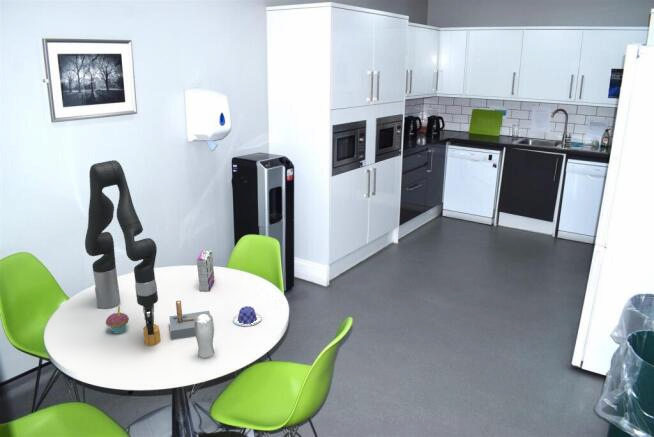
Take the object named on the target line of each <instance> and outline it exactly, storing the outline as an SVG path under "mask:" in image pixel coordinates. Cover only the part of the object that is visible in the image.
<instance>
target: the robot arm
mask: <svg viewBox="0 0 654 437" xmlns="http://www.w3.org/2000/svg"><path fill="white" fill-rule="evenodd" d="M111 186H117V189H118V192H119V193H118V195H119V196H118V203H117V208H116V220H117V222H118V225H119V227H120V229H121V231H122V233H123V234H122V235H123V238H124V239H123V240H124V243H125V245H124V246H125V254H126V256H127V257H128V259H129V260H130V261H132V262H139V261H141V260H142V261H141V262H139V263H138V264H137V265H135V266H134V268H133V273H134V274H133V275H134V282H135V283H134V285H135V286H134V287H135V297H136V303H137V305H139V306H142V312H143V316H144V317H143V318H144V321H145V326H146V327H147V330H148V335H153V334H154V327H153V325H154V324H155V304H156V303H158V301H159V296H158V286H157V282H156V281H157V280H156V275H155V263H156V260H157V259H156V258H157V252H158V249H157V248H158V247H157V244H156V242H155V241H154V240H153V239H152V238H150V237H146V238H142V239H139V240H135V237H137V236H139V235H140V234H141V233H143V231H144V228H143V225H142V223H141V220H140V219H139V215H138V214H137V211H136V209H135V207H134V203H133V200H132V196H131V192H130V188H129V185H128V181H127V178H126V174H125V171H124V169H123V167H122V165H121V164H120V162H119V161H118V160H115V159H114V160H107V161H103V162H97V163H94V164H92V165H91V166H90V168H89V202H88V218H87V219H88V222H87V228H86V229H87V230H86V235H85V240H84V248H85V251H86V252H85V253H87V255H89V256H90V257H97V256H100V257H99V258H98V259H96V260H95V261H94V262H93V263H92V273H93V279H94V280H93V281H94V292H95V298H96V299H95V300H96V306H97V309H112V308H116V307H118V306H120V304H121V295H120V289H119V288H120V287H119V280H118V272H117V265H116V255H115V243H114V238H113V235H112V233H111V232H110V231H105V230H106V229H107V228H108V227H109V226H110V225H111V223H112V221H113V220H114V212H115V205H114V203H113V201H112V200H111V199H110V198H109V196H107V195H106V194H105V193H104V191H103V189H105V188H109V187H111ZM101 255H102V256H101Z"/></svg>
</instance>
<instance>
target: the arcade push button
mask: <svg viewBox="0 0 654 437" xmlns="http://www.w3.org/2000/svg"><path fill="white" fill-rule="evenodd" d="M153 327H154V334H153V335H148V330H147V327H146V325H145V326H144V327H143V328H142V329H143V331H142V332H143V340H144V341H143V342H144V345H145V346H148V347H151V346H156V345H158V344H160V343H161V333H160V325H158V324H157V323H154V325H153Z"/></svg>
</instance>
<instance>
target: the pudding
mask: <svg viewBox="0 0 654 437" xmlns="http://www.w3.org/2000/svg"><path fill="white" fill-rule="evenodd" d="M238 311H239V312H238V313H237V314H236V315H234V316H233V317H232V322H233V323H234V324H236V325H237V326H241V327H242V326H243V327H249V326H253V325H257V324H258V323H260V322H261V321H262V319H263V318H262V315H261V314H260V313H258V312H256V311H255V308H254V307H252V306H251V305H250V306H247V305H246V306H243V307H241V308H240V309H239V310H238ZM256 316H259V318H260V320H259V322H257V323H255V322H254V321H256V320H257V317H256ZM237 318H238V320H237V321H238V322H239V323H243V324H244V325H241V324H238V323H237V322H235V319H237ZM253 322H254V323H255V324H252V325H249V324H251V323H253ZM245 324H247V325H245Z"/></svg>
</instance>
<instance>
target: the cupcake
mask: <svg viewBox="0 0 654 437" xmlns="http://www.w3.org/2000/svg"><path fill="white" fill-rule="evenodd" d="M120 311H121V308H120V305H118V306H117V312H115V313H112V314H110V315H109V316H107V318H106V320H105V325H106V326H108V327H110V329H111V331H112V333H115V334H120V333H123V332H124V331H125V330H126V326H127V324H128V322H129V319H130V318H129V316H128V315H127V314H126V313H124V312H120Z"/></svg>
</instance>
